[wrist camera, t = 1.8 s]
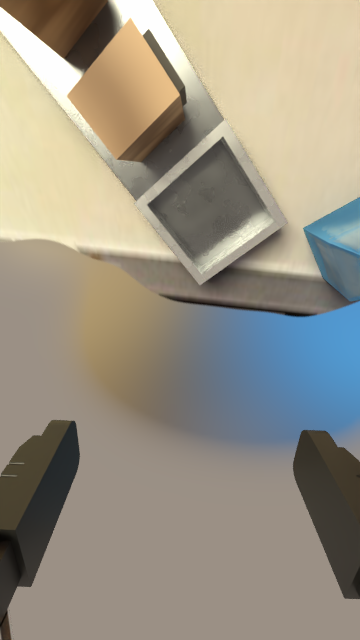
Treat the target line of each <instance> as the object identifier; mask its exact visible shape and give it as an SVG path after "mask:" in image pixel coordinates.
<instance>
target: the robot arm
mask: <svg viewBox="0 0 360 640" xmlns="http://www.w3.org/2000/svg"><path fill="white" fill-rule="evenodd" d="M79 457H80V453H79V445H78V436H77V428H76V423H75V421H64V420H52V421H51V422H50V423H49V424H48V426H47V427H46V429H45V431H44V432H43V434H42V436H32V437H31V438H30V439H29V440H27V442H25V443H24V444H23V445H21V446H20V447H19V449H18V450H17V452H16V453H15V454H14V456H13V457H12V459H11V460H10V462H9V465H7V466H6V468H5V469H4V471H3V472H2V473H1V477H0V640H14V638H13V631H12V624H11V617H10V610H9V604H10V602H11V599H12V597H13V595H14V592H15V590H16V588H17V586H22V587H23V586H24V587H31V586H32V583H33V581H34V578H35V576H36V573H37V571H38V568H39V566H40V563H41V561H42V558H43V556H44V553H45V551H46V548H47V545H48V543H49V541H50V538H51V536H52V533H53V530H54V528H55V525H56V523H57V520H58V518H59V515H60V513H61V510H62V508H63V505H64V502H65V500H66V498H67V495H68V493H69V490H70V488H71V485H72V482H73V480H74V478H75V475H76V472H77V469H78V465H79ZM293 471H294V476H295V480H296V483H297V485H298V488H299V490H300V492H301V495H302V497H303V500H304V502H305V504H306V507H307V509H308V511H309V514H310V516H311V519H312V521H313V524H314V526H315V528H316V531H317V533H318V535H319V538H320V540H321V543H322V545H323V547H324V550H325V553H326V554H327V557H328V560H329V562H330V565H331V567H332V569H333V572H334V574H335V576H336V579H337V582H338V584H339V586H340V589H341V591H342V594H343V596H344V598H348V599H360V462H359V460H357V459H356V458H355V457H354V456H353V455H352V454H351V453H349V452H348V451H347V450H346V449H345V448H342V447H337V445H336V444H335V442H334V440H333V439H332V437H331V436H330V435H329V433H328V432H326V431H315V430H303V431H302V432H301V435H300V439H299V442H298V446H297V450H296V454H295V458H294V462H293Z"/></svg>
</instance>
